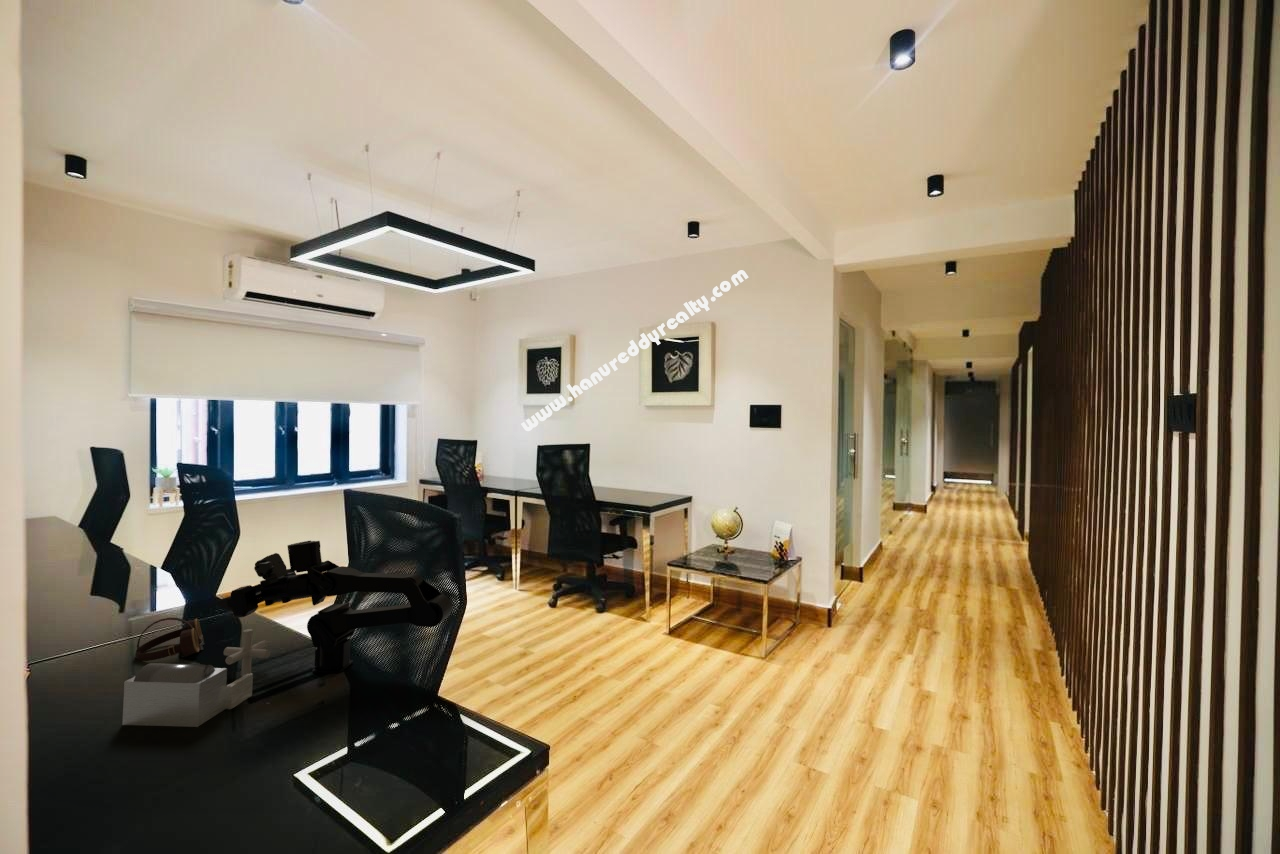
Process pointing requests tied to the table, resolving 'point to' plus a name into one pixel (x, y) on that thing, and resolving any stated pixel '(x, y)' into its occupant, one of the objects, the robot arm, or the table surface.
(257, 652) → the pipe connector
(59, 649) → the table surface
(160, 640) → the goggles
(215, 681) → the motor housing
